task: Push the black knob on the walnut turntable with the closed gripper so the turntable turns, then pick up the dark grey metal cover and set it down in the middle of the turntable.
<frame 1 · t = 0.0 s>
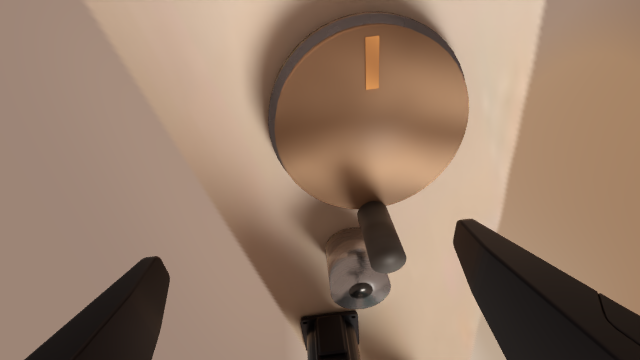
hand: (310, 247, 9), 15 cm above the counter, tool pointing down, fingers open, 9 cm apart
turntable: (378, 157, 20), point 4 cm above the counter, hinge at 0.0°
cover: (351, 247, 30), on the counter
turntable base: (365, 119, 23), on the counter
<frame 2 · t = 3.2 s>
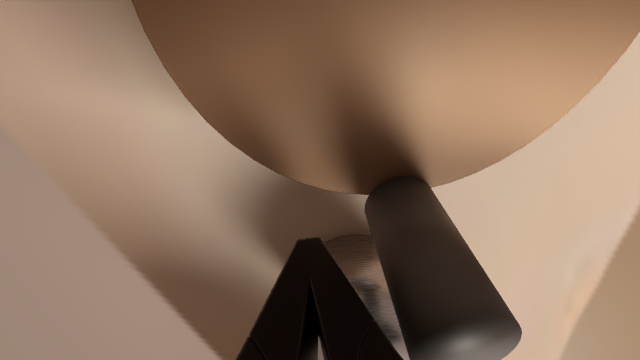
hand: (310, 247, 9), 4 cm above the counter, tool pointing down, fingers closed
turntable: (444, 11, 6), point 4 cm above the counter, hinge at 0.0°, touching gripper
cover: (350, 270, 16), on the counter
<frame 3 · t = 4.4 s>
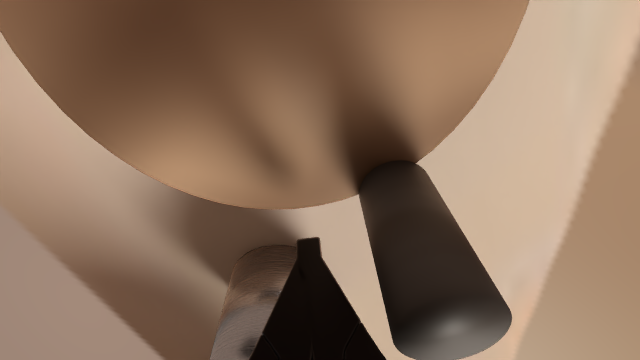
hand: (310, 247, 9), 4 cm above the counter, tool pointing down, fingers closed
turntable: (277, 36, 6), point 4 cm above the counter, hinge at 30.1°, touching gripper
cover: (280, 279, 16), on the counter
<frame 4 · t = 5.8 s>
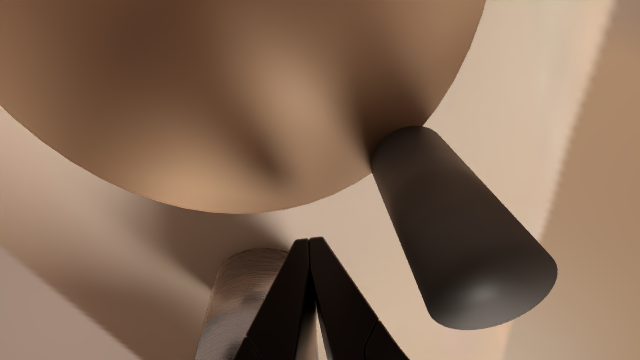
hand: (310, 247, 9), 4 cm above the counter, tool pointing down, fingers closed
turntable: (233, 30, 6), point 4 cm above the counter, hinge at 43.1°
cover: (265, 282, 16), on the counter
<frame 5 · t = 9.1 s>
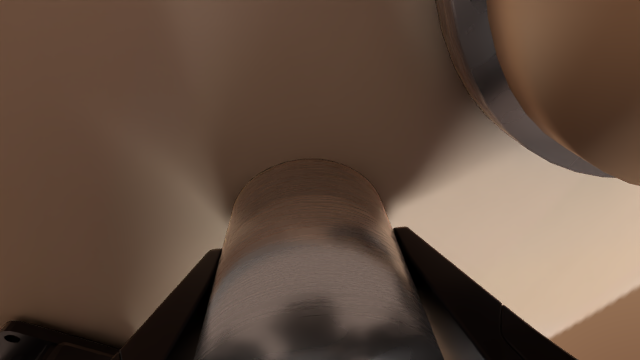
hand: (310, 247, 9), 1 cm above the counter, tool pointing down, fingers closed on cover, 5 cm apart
cover: (308, 225, 10), on the counter, touching gripper
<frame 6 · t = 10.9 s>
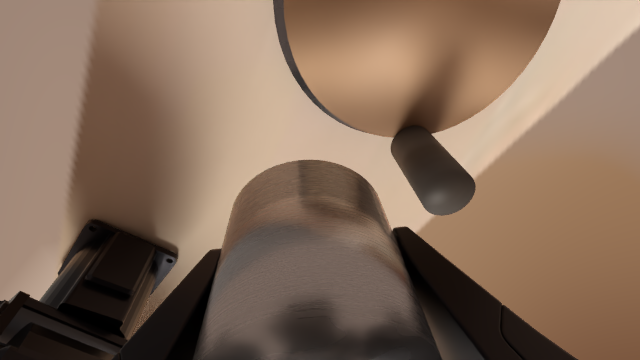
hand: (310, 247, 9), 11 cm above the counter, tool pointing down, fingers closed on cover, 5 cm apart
turntable: (439, 33, 13), point 4 cm above the counter, hinge at 43.1°
cover: (307, 225, 10), point 10 cm above the counter, touching gripper
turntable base: (408, 4, 16), on the counter
when the fingers open (5 cm above the counter, at t = 12.9 s): cover drops 1 cm, resting on turntable.
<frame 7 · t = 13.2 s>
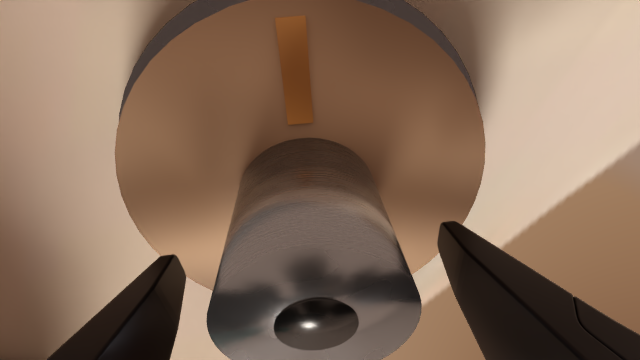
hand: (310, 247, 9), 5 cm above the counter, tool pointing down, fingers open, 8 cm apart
turntable: (312, 252, 10), point 4 cm above the counter, hinge at 43.1°, touching cover
cover: (307, 199, 12), point 2 cm above the counter, touching turntable
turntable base: (305, 165, 14), on the counter
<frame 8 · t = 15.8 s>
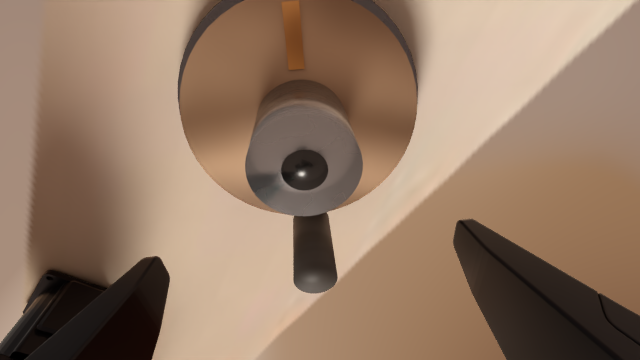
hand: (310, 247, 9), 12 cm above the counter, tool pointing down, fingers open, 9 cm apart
turntable: (304, 153, 16), point 4 cm above the counter, hinge at 43.1°, touching cover
cover: (301, 124, 18), point 2 cm above the counter, touching turntable
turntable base: (300, 109, 20), on the counter
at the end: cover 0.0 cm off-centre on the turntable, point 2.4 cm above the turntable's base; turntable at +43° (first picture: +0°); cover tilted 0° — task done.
